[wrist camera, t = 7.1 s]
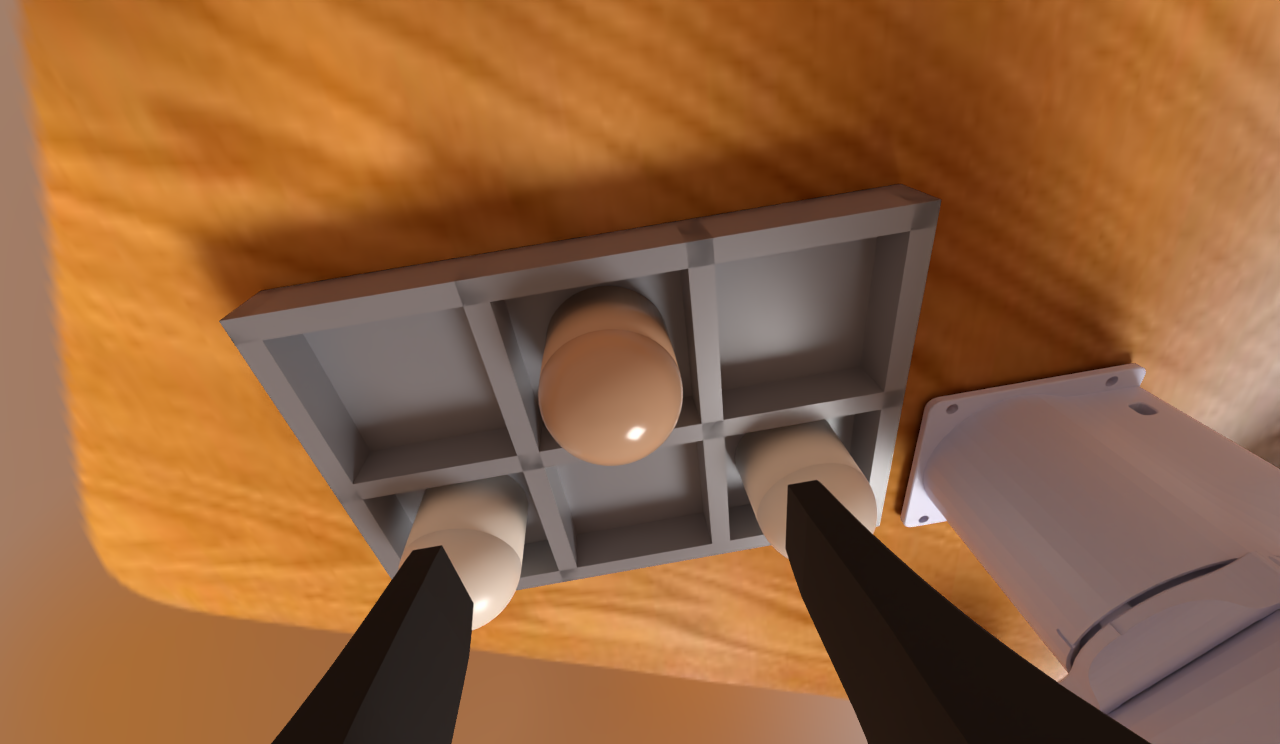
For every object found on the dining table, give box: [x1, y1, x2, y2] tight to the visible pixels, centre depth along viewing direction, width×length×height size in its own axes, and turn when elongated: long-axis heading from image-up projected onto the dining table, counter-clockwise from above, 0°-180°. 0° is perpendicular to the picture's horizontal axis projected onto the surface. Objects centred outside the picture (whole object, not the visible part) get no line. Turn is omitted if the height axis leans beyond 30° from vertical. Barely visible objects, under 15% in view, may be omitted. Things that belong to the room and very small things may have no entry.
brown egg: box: [538, 286, 683, 466], centre depth 16 cm, size 4×4×5 cm
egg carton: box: [219, 184, 941, 630], centre depth 18 cm, size 21×14×6 cm
